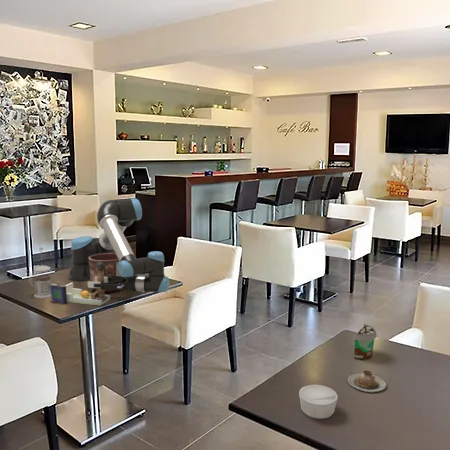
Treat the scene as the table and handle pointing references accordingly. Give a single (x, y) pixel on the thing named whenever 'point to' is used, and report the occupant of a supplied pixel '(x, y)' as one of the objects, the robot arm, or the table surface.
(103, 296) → the kicker
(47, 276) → the french press
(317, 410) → the ramekin
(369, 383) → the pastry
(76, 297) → the pale green tray
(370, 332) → the food container
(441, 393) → the table surface
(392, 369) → the table surface
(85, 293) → the ball
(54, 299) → the flask
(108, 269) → the pottery
